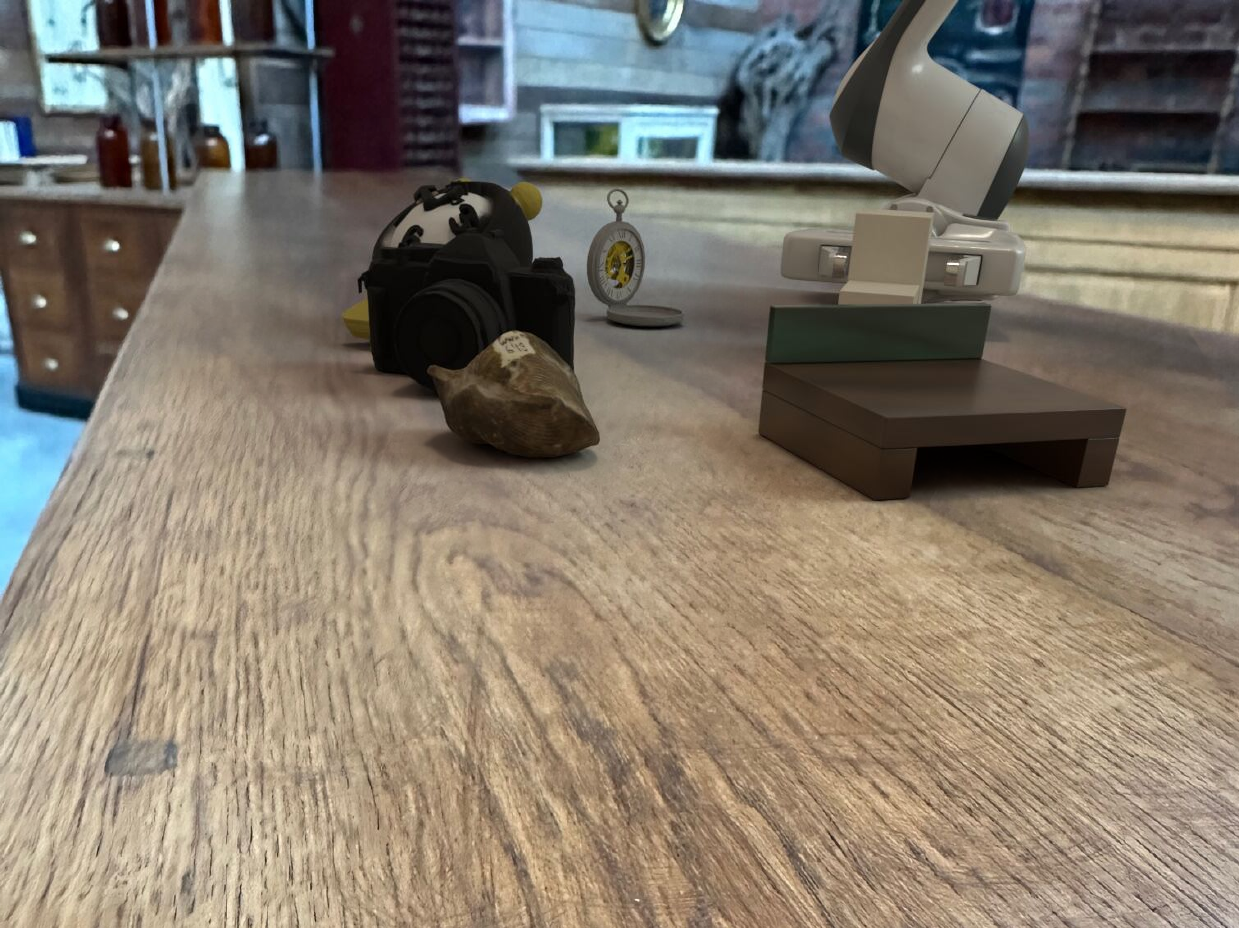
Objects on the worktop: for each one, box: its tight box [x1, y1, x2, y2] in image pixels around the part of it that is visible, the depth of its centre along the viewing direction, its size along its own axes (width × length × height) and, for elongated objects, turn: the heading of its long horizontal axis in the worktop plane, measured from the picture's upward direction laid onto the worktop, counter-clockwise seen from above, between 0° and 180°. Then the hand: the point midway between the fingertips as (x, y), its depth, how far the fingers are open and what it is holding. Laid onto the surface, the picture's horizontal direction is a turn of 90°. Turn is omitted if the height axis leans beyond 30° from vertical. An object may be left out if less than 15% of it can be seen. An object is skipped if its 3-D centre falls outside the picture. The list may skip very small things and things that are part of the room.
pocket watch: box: [586, 187, 685, 328], centre depth 102 cm, size 8×8×10 cm
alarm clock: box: [341, 177, 543, 341], centre depth 93 cm, size 12×15×15 cm
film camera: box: [357, 227, 576, 392], centre depth 78 cm, size 15×10×9 cm, turn 73°
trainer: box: [837, 207, 934, 305], centre depth 90 cm, size 12×6×10 cm, turn 165°
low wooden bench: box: [757, 302, 1128, 501], centre depth 66 cm, size 14×14×7 cm
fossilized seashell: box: [427, 331, 601, 458], centre depth 65 cm, size 8×7×10 cm
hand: (894, 270), depth 98 cm, fingers open, 8 cm apart
